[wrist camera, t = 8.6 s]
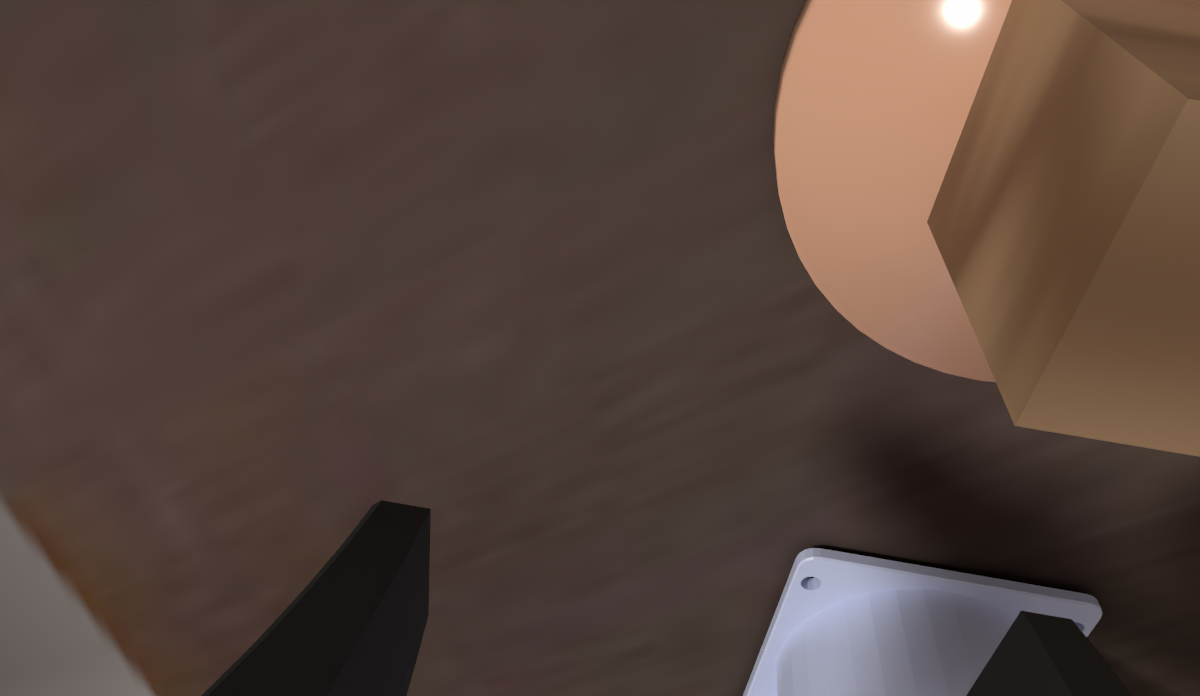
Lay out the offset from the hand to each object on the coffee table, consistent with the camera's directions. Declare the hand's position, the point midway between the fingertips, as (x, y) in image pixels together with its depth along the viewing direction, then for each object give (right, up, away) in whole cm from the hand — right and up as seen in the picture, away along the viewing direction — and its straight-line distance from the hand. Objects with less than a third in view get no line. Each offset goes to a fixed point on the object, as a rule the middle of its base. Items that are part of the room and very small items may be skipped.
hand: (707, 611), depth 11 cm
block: (+7, +7, +4) cm, 11 cm away
